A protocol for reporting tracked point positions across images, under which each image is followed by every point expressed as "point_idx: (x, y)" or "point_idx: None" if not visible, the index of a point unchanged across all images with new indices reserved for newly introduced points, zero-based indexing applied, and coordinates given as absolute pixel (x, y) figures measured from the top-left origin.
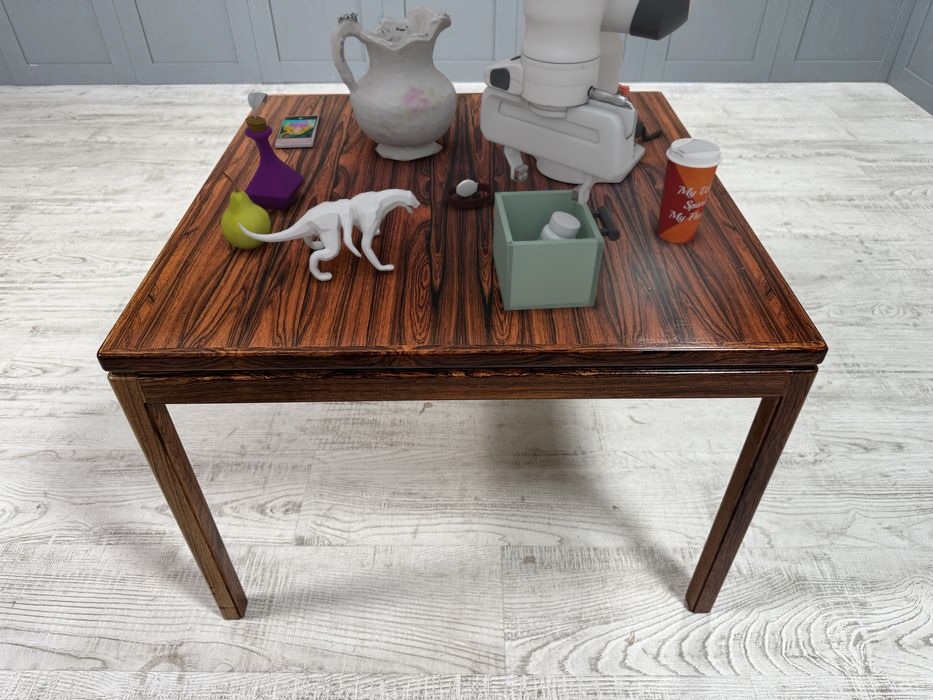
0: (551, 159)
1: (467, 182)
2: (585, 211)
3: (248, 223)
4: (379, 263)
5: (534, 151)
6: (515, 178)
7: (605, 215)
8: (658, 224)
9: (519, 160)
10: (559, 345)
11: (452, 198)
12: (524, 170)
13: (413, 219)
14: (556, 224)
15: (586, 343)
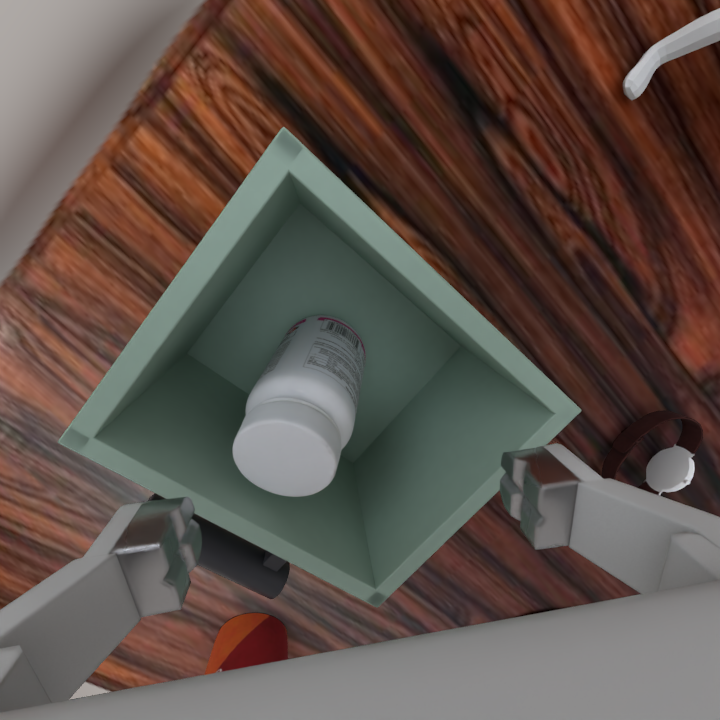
0: (286, 682)
1: (681, 477)
2: (264, 533)
3: None
4: (669, 48)
5: (516, 668)
6: (535, 450)
7: (227, 565)
8: (276, 638)
9: (600, 547)
10: (99, 167)
11: (673, 418)
12: (529, 513)
13: (701, 313)
14: (282, 414)
15: (67, 225)
